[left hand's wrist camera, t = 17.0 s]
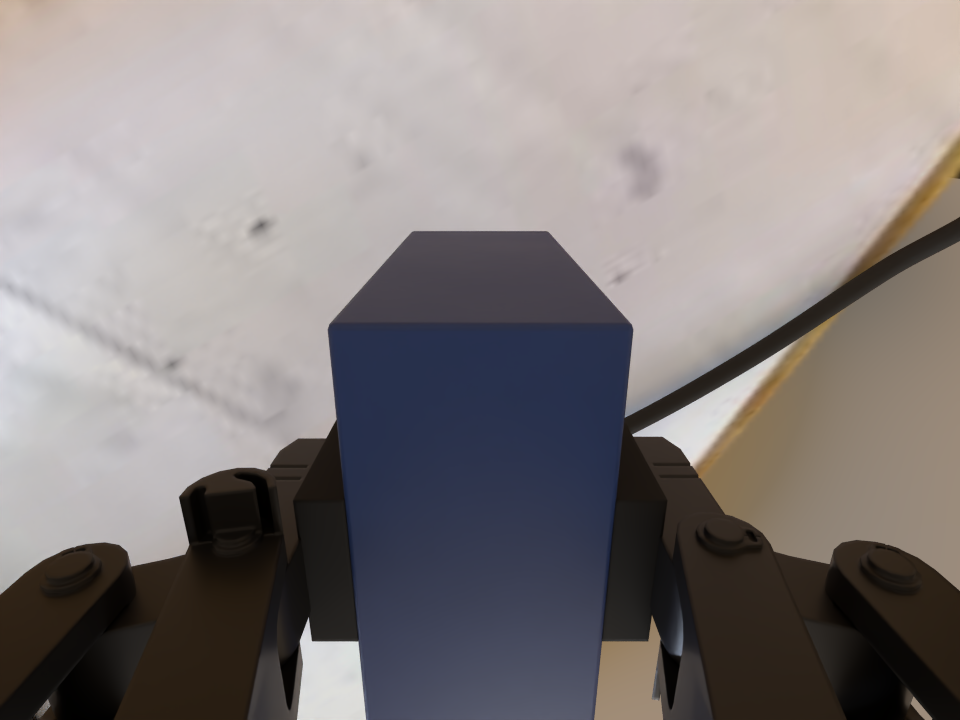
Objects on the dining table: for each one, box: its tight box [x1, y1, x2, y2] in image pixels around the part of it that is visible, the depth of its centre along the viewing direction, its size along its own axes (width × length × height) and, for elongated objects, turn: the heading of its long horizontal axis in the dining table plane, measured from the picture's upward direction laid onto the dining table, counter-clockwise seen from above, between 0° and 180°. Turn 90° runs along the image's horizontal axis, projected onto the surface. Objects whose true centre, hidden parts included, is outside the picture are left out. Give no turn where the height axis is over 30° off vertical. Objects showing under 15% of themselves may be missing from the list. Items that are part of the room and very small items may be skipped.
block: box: [328, 231, 633, 720], centre depth 13 cm, size 4×8×10 cm, turn 0°
